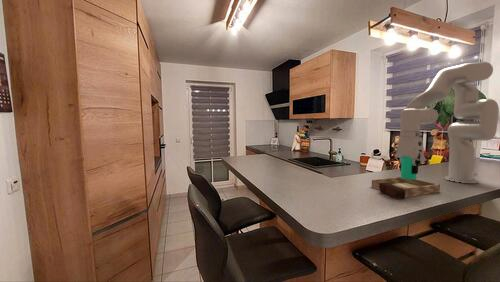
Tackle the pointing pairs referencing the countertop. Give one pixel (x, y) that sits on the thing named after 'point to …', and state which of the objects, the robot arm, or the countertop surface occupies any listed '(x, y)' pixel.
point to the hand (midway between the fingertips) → (408, 172)
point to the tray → (409, 185)
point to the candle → (407, 168)
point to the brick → (392, 190)
